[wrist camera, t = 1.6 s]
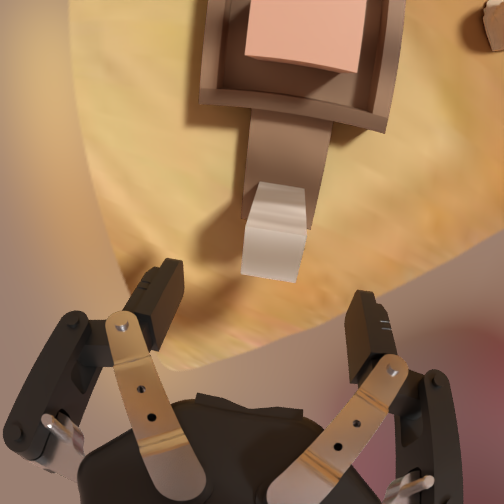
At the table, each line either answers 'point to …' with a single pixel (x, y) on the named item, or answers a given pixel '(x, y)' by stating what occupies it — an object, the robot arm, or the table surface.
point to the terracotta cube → (307, 33)
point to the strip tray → (293, 123)
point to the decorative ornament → (494, 23)
